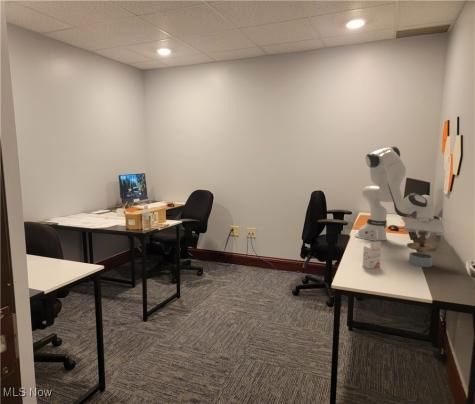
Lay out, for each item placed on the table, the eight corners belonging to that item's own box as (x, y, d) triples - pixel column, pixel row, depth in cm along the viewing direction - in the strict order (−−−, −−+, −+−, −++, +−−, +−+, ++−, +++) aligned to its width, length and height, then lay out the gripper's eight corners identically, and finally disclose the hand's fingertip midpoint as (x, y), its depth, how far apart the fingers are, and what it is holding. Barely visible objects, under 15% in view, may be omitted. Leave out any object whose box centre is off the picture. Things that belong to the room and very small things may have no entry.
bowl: (408, 264, 196) (409, 256, 195) (409, 259, 206) (410, 251, 205) (432, 268, 190) (433, 259, 189) (432, 262, 200) (432, 254, 199)
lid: (406, 248, 193) (407, 233, 192) (407, 243, 206) (409, 228, 205) (436, 253, 186) (438, 237, 185) (436, 247, 199) (437, 231, 198)
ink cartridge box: (372, 264, 194) (374, 239, 192) (379, 266, 190) (382, 241, 188) (361, 266, 190) (363, 240, 188) (368, 268, 186) (371, 242, 184)
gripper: (405, 214, 205) (402, 233, 198) (444, 218, 195) (443, 238, 188) (405, 220, 209) (402, 238, 202) (443, 224, 200) (442, 244, 192)
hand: (422, 238), depth 195 cm, fingers closed on lid, 2 cm apart
